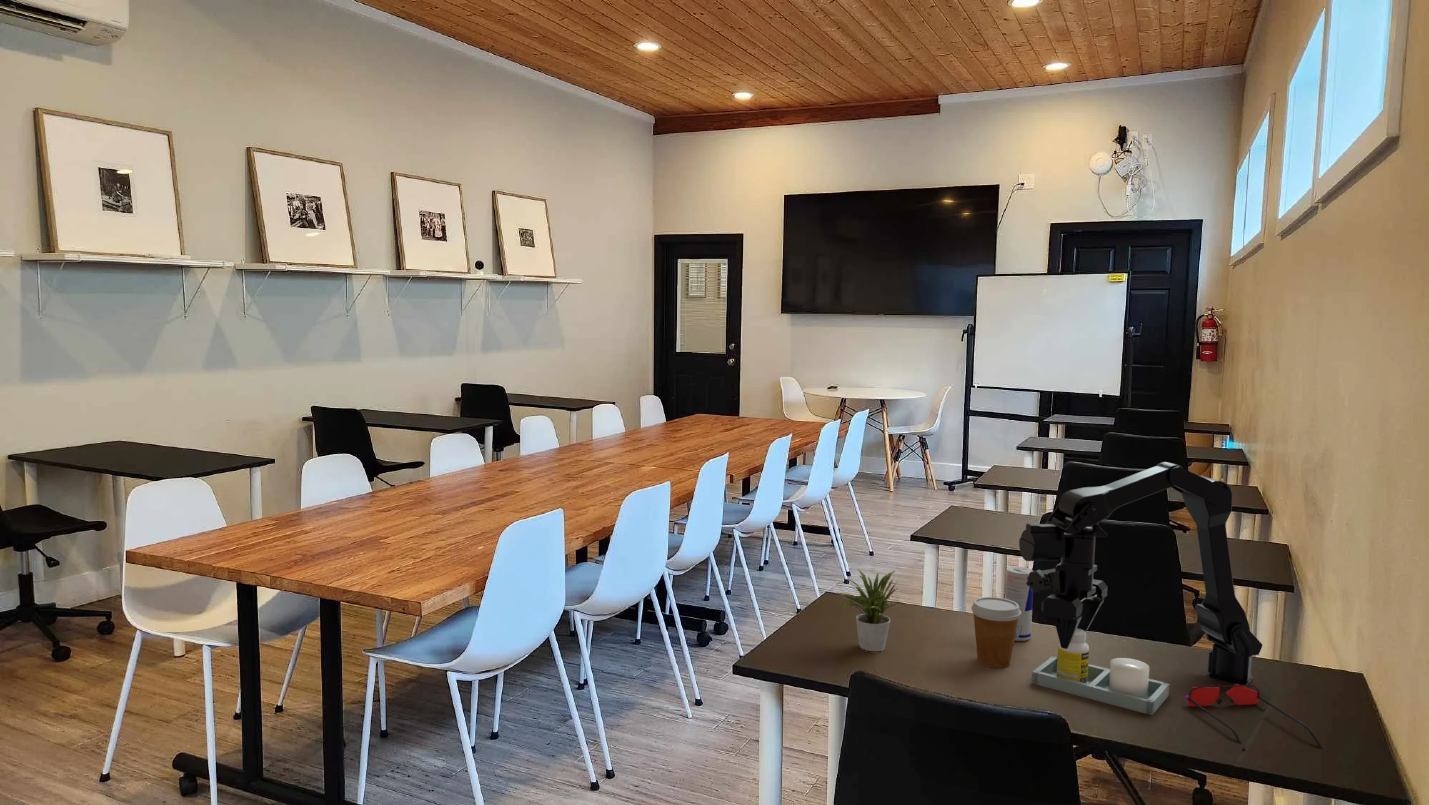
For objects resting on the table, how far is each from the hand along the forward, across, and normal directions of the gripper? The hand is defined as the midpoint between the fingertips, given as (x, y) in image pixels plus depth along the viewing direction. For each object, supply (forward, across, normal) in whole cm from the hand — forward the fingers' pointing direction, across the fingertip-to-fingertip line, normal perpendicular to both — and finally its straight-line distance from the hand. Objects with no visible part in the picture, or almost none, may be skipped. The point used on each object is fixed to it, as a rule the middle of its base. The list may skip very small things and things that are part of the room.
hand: (1072, 641), depth 174 cm
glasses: (+9, -2, +29) cm, 31 cm away
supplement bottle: (+8, 0, 0) cm, 8 cm away
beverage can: (+9, -19, -18) cm, 28 cm away
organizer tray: (+9, 0, +5) cm, 10 cm away
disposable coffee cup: (+9, -2, -16) cm, 18 cm away
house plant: (+9, +6, -39) cm, 40 cm away
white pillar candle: (+8, 0, +10) cm, 13 cm away
